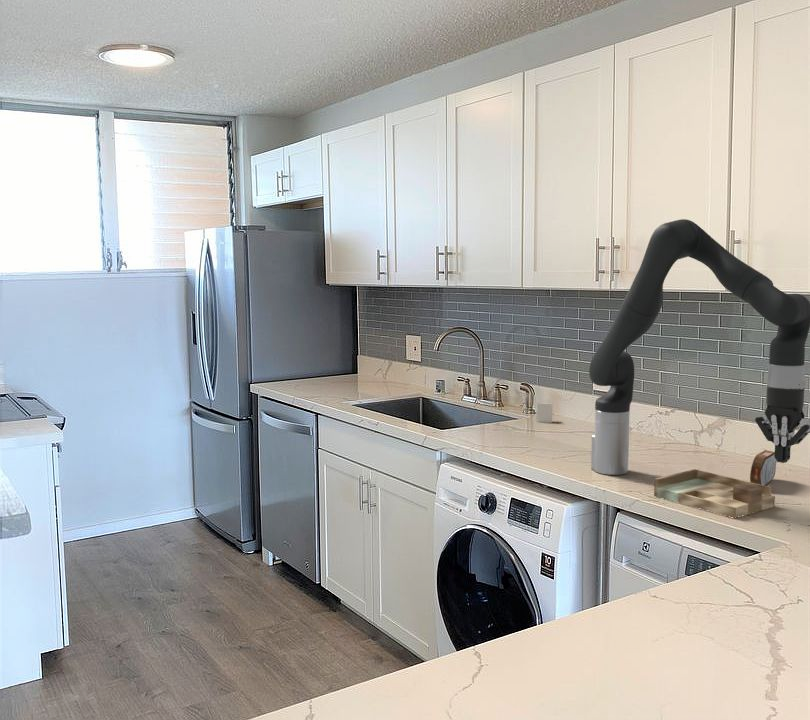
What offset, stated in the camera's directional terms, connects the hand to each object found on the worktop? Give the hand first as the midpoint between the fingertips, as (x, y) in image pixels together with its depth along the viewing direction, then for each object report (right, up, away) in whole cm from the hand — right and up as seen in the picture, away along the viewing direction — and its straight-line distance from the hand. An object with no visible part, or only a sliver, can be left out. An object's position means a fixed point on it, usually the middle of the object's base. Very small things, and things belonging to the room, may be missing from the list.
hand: (782, 461), depth 181 cm
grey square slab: (-33, -1, +116) cm, 121 cm away
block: (-4, -10, +8) cm, 13 cm away
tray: (-10, -12, +15) cm, 21 cm away
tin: (+9, -10, +31) cm, 34 cm away
